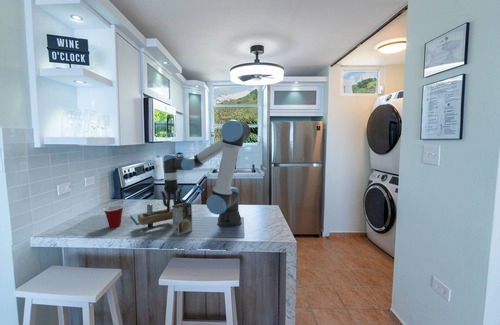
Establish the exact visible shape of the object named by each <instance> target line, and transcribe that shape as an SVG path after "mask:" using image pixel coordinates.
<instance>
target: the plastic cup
mask: <svg viewBox="0 0 500 325" xmlns="http://www.w3.org/2000/svg"><path fill="white" fill-rule="evenodd" d="M123 208H124V205H122V204H117V205H112V206H111V205H110V206H107V207H105V208H103V209H102V210H103V212H104V213H105V216H106V219H107V224H108V227H109V228H110V229H113V228H114V229H115V227H116V228H119V227H121V224H122V217H123V216H122V215H123V210H124V209H123Z"/></svg>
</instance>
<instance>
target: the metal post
mask: <svg viewBox="0 0 500 325" xmlns="http://www.w3.org/2000/svg"><path fill="white" fill-rule="evenodd" d="M153 208H154V207H153V204H152V203H148V204H146V212H147V216H152V215H153V211H154V209H153ZM147 228H148V229H152V228H154V223H151V224H147Z"/></svg>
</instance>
